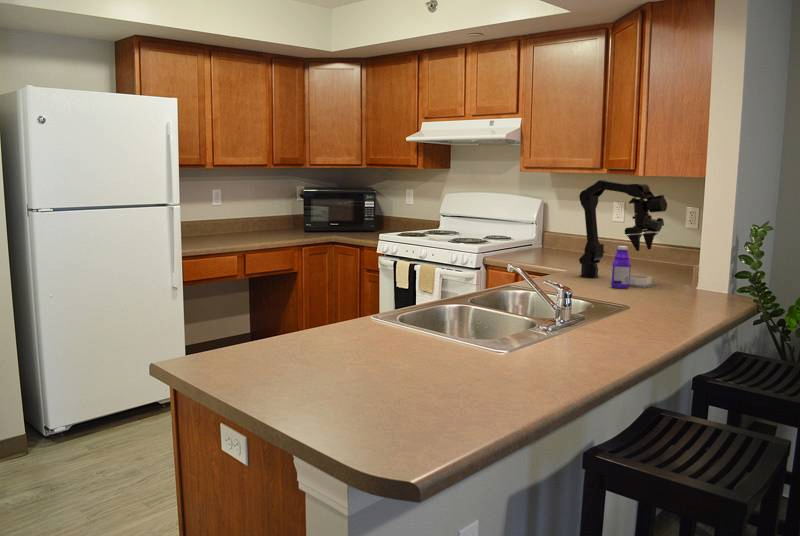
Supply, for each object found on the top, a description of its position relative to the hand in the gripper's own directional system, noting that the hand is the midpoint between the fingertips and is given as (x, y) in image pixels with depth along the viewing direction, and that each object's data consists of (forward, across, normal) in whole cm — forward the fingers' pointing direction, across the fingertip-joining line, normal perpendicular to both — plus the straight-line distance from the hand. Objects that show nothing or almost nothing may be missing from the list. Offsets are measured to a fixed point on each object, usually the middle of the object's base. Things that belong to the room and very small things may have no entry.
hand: (643, 250), depth 285 cm
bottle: (+15, -15, +3) cm, 21 cm away
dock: (+14, -2, +4) cm, 15 cm away
